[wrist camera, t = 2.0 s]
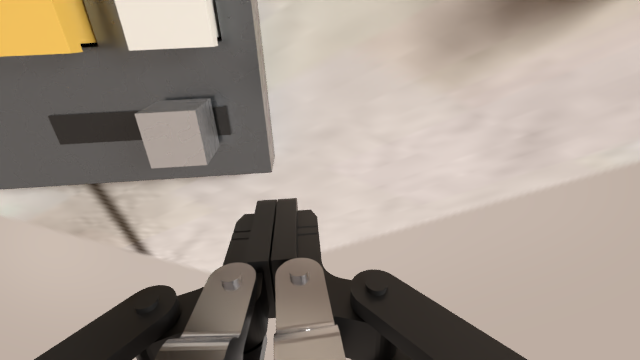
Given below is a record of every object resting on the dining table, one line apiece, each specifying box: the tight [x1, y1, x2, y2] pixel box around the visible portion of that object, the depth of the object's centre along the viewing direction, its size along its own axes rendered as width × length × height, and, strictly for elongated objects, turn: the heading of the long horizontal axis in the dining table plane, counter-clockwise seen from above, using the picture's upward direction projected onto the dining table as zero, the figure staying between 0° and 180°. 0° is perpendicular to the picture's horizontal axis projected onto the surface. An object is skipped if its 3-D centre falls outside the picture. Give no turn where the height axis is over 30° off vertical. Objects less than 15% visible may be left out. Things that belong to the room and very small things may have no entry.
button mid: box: [0, 0, 97, 57], centre depth 21 cm, size 5×5×6 cm
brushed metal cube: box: [135, 98, 220, 168], centre depth 23 cm, size 4×4×4 cm
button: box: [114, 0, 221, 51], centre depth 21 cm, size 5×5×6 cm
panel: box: [0, 0, 275, 189], centre depth 25 cm, size 18×28×4 cm, turn 92°
